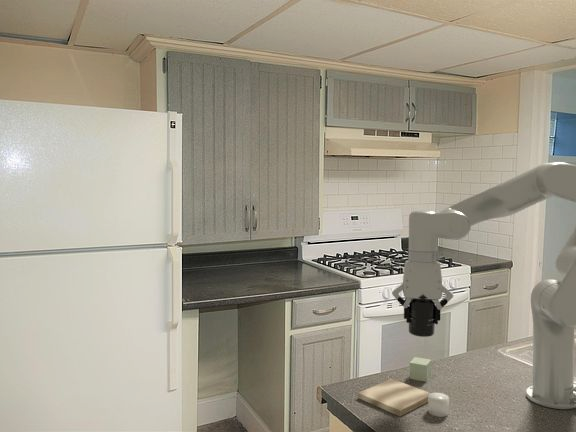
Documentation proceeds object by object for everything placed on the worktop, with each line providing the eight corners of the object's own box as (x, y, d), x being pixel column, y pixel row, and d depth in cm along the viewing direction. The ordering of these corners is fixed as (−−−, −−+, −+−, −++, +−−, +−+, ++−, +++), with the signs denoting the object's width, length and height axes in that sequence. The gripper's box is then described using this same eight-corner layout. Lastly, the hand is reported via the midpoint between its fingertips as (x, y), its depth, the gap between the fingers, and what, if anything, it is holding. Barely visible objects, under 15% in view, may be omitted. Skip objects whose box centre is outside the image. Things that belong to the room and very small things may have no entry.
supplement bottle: (435, 338, 129) (436, 293, 128) (408, 336, 130) (409, 292, 129) (433, 330, 135) (434, 287, 134) (408, 328, 137) (408, 286, 136)
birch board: (432, 399, 131) (432, 393, 131) (400, 416, 122) (400, 410, 122) (391, 383, 142) (391, 378, 141) (358, 398, 133) (358, 392, 133)
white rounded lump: (452, 412, 123) (452, 397, 123) (441, 419, 120) (441, 403, 120) (435, 405, 127) (435, 390, 127) (424, 412, 124) (424, 396, 124)
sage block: (431, 376, 146) (431, 359, 146) (426, 382, 142) (426, 365, 142) (414, 373, 149) (414, 357, 149) (409, 379, 145) (409, 362, 144)
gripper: (454, 255, 133) (453, 320, 134) (389, 254, 137) (388, 316, 138) (458, 260, 126) (457, 328, 127) (389, 258, 129) (389, 324, 131)
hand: (421, 321), depth 132 cm, fingers closed on supplement bottle, 6 cm apart
